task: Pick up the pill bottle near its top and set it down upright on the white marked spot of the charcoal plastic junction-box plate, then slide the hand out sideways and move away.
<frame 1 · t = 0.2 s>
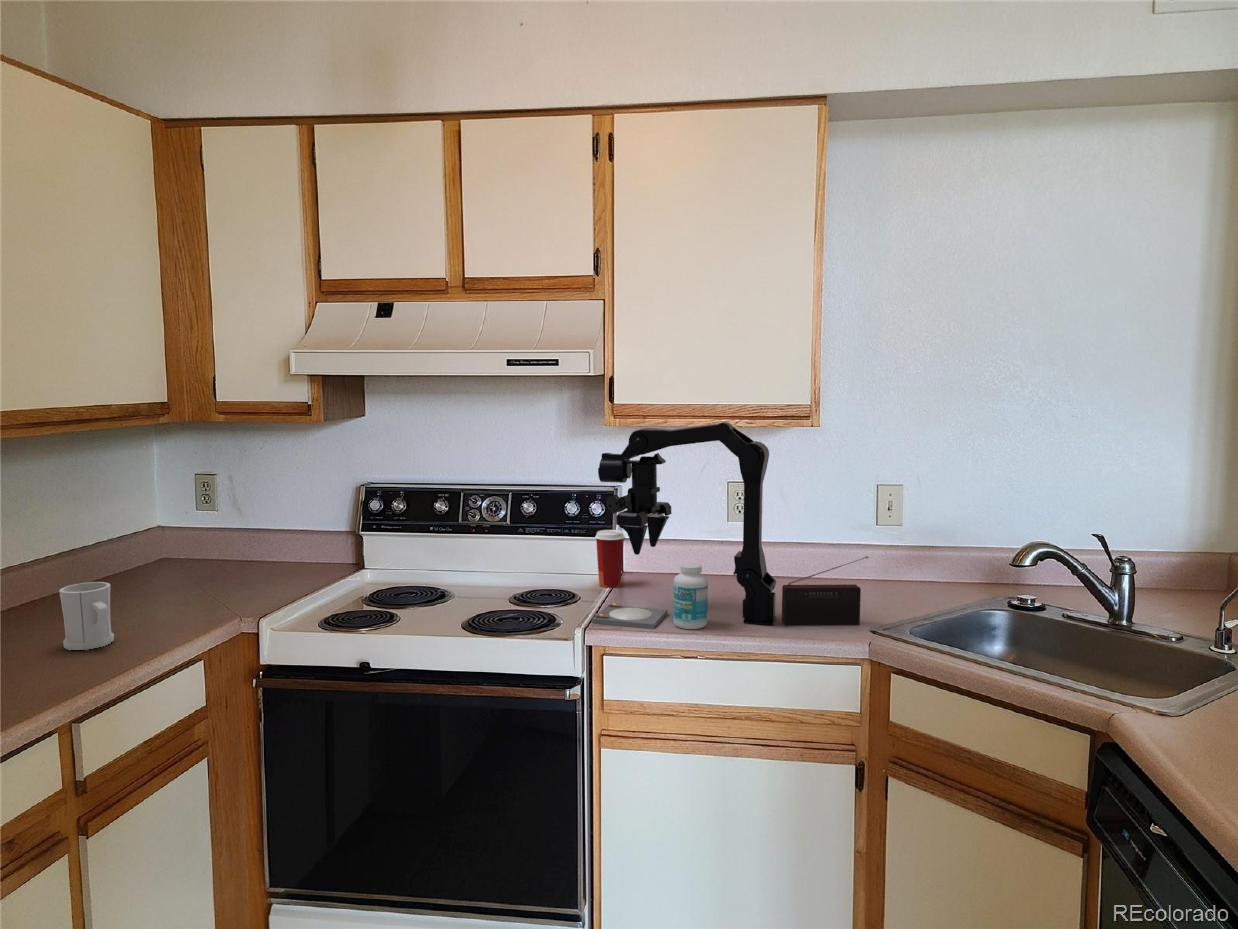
hand: (645, 550, 197), 14 cm above the countertop, tool pointing down, fingers open, 9 cm apart
radio: (825, 625, 188), on the countertop
pill bottle: (690, 626, 187), on the countertop
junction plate: (630, 618, 193), on the countertop
paper cup: (609, 585, 222), on the countertop
cup: (93, 645, 175), on the countertop
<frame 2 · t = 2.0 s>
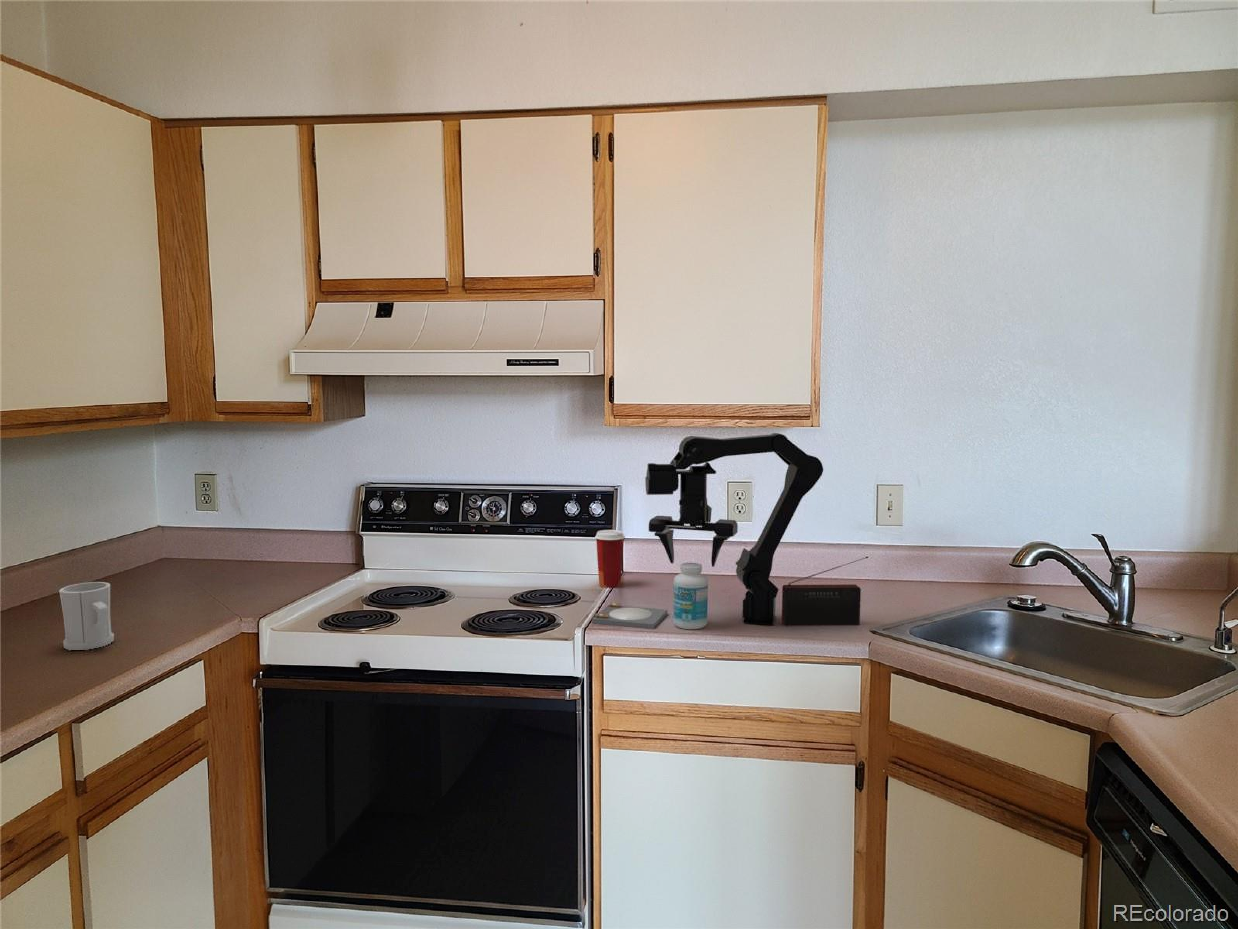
hand: (692, 564, 188), 13 cm above the countertop, tool pointing down, fingers open, 9 cm apart
nothing on the countertop moved.
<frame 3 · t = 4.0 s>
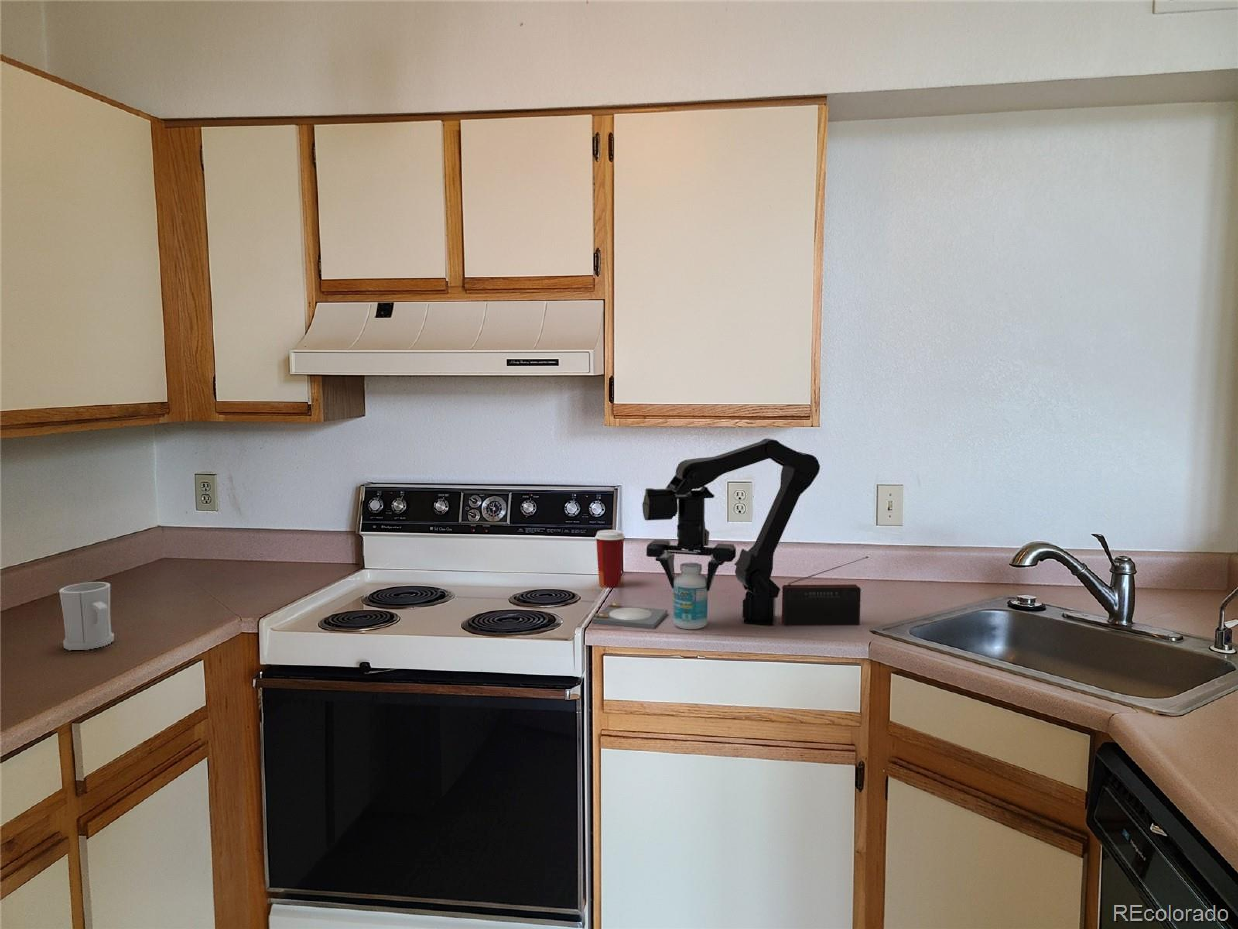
hand: (690, 589, 186), 8 cm above the countertop, tool pointing down, fingers closed on pill bottle, 7 cm apart
pill bottle: (690, 626, 187), on the countertop, touching gripper
everything else where it was.
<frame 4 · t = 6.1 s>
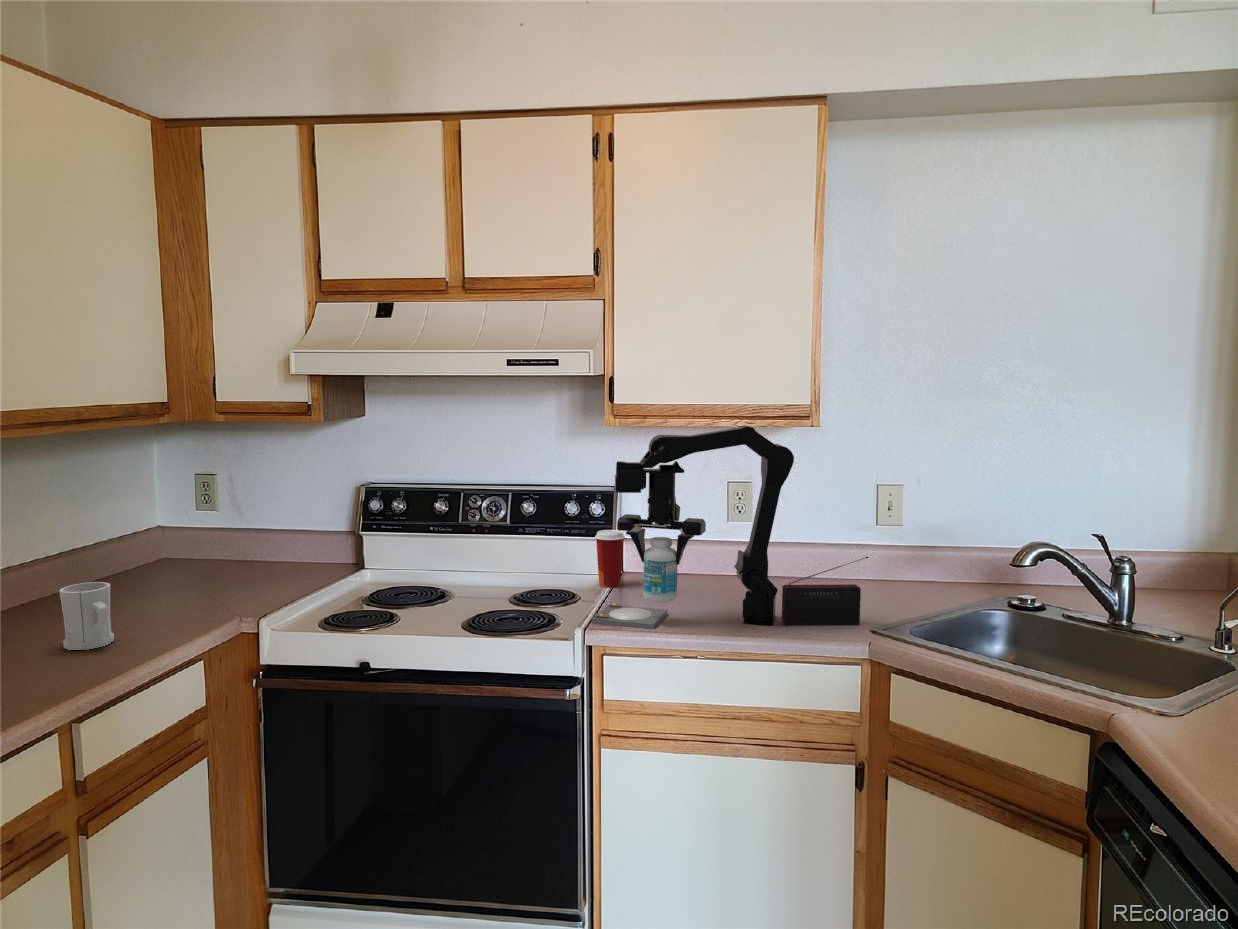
hand: (660, 563, 188), 13 cm above the countertop, tool pointing down, fingers closed on pill bottle, 7 cm apart
pill bottle: (660, 599, 189), point 5 cm above the countertop, touching gripper
everything else where it was.
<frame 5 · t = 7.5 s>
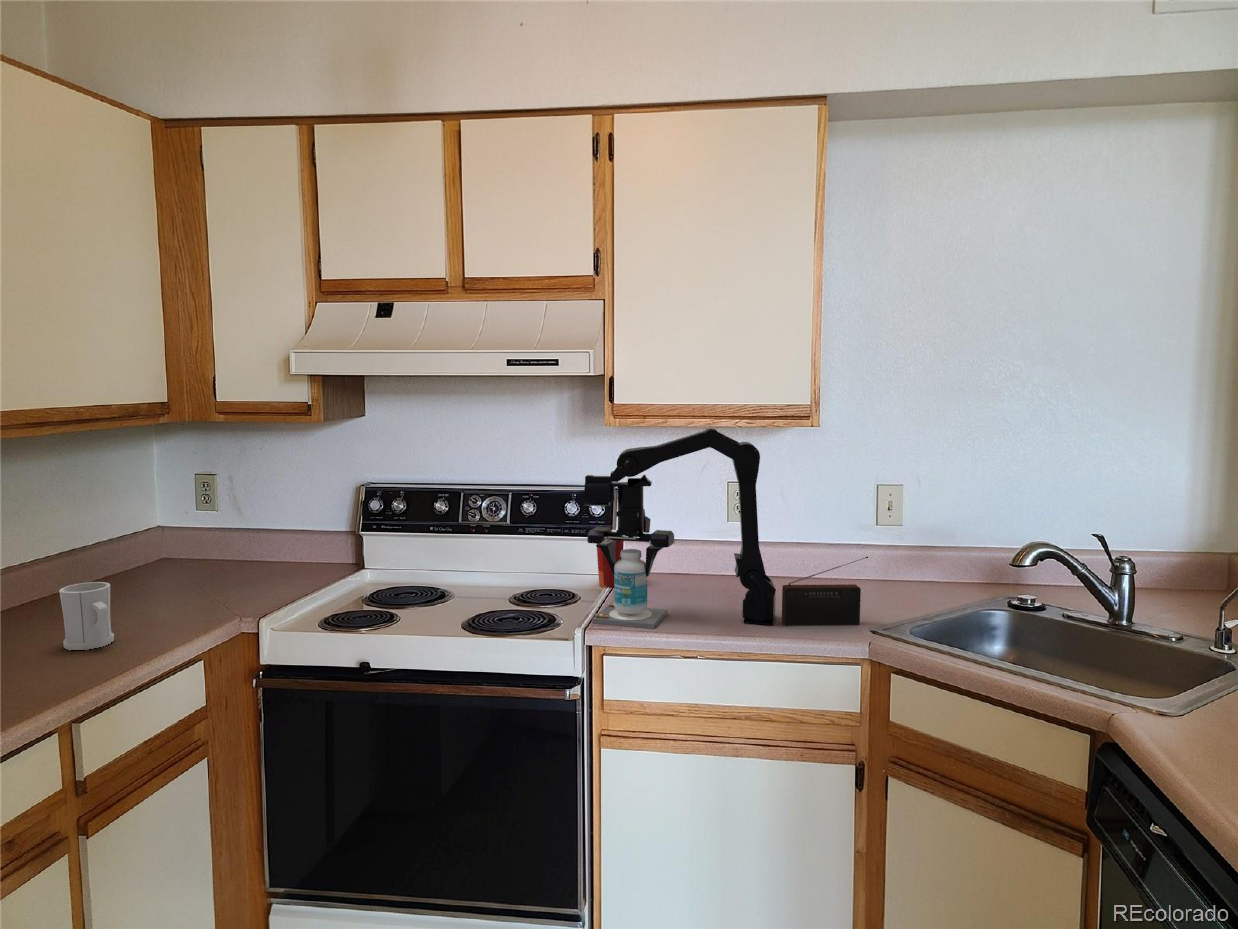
hand: (631, 575, 192), 10 cm above the countertop, tool pointing down, fingers closed on pill bottle, 7 cm apart
pill bottle: (631, 611, 192), point 2 cm above the countertop, touching gripper
everything else where it was.
when the fingers open (10 cm above the countertop, at t = 8.4 s): pill bottle stays where it is, resting on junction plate.
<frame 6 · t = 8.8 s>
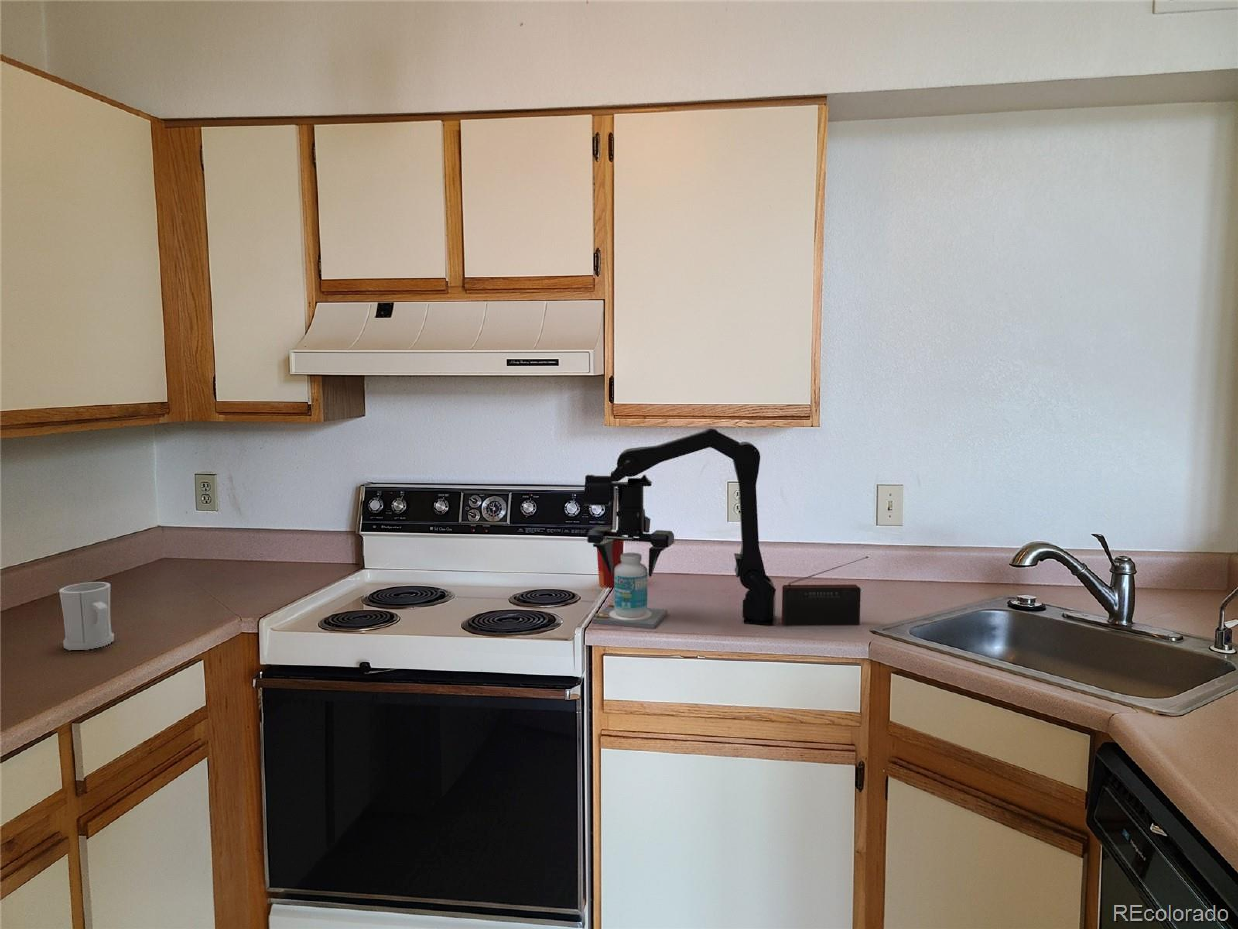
hand: (630, 574, 192), 10 cm above the countertop, tool pointing down, fingers open, 9 cm apart
pill bottle: (630, 614, 192), point 1 cm above the countertop, touching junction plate
everything else where it was.
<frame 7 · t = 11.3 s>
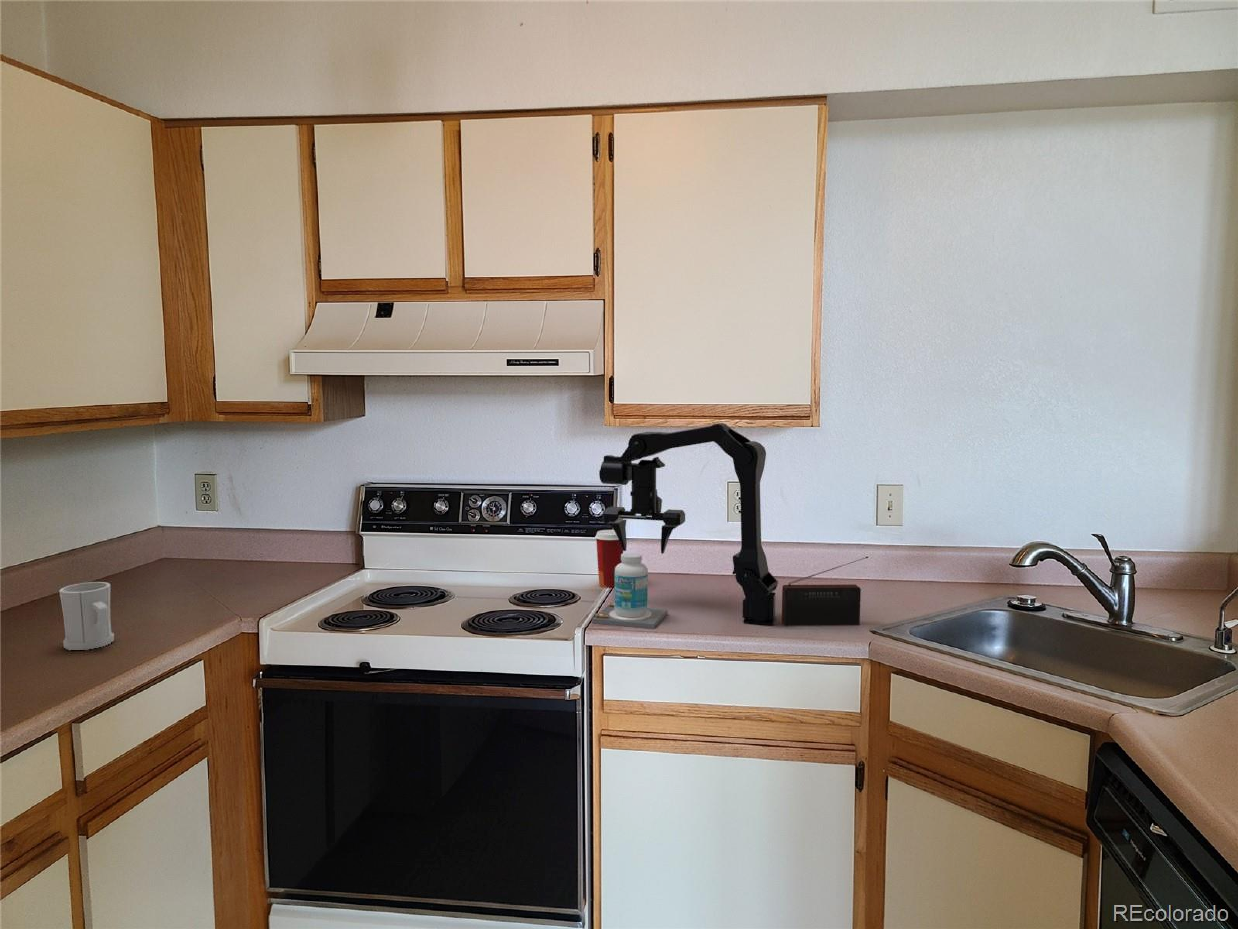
hand: (643, 552, 201), 13 cm above the countertop, tool pointing down, fingers open, 9 cm apart
nothing on the countertop moved.
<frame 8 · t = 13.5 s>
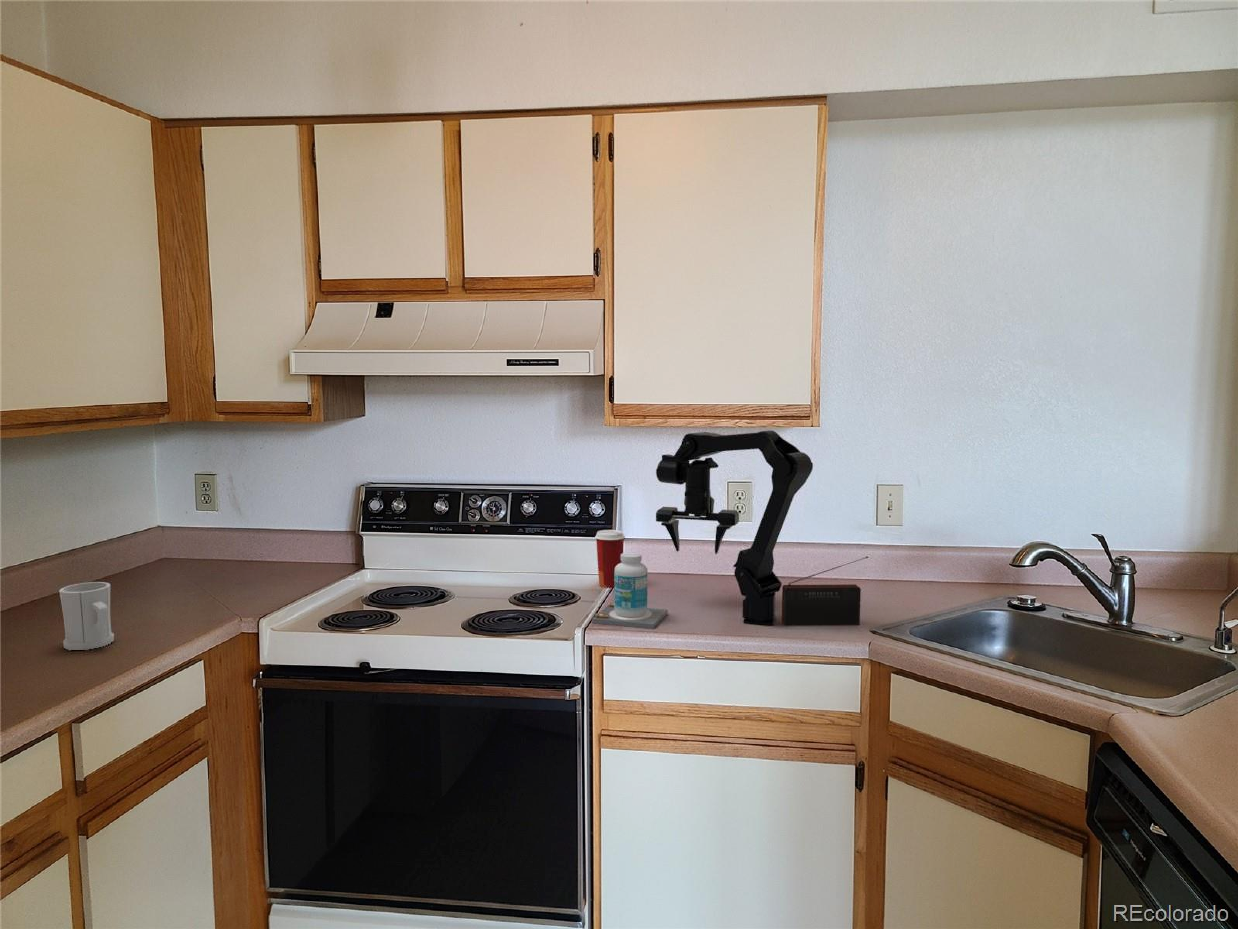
hand: (697, 552, 201), 13 cm above the countertop, tool pointing down, fingers open, 9 cm apart
nothing on the countertop moved.
at the end: pill bottle inside the target area on the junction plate (0.1 cm from its centre), point 0.9 cm above the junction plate's base; pill bottle tilted 1°; the gripper is holding nothing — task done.
